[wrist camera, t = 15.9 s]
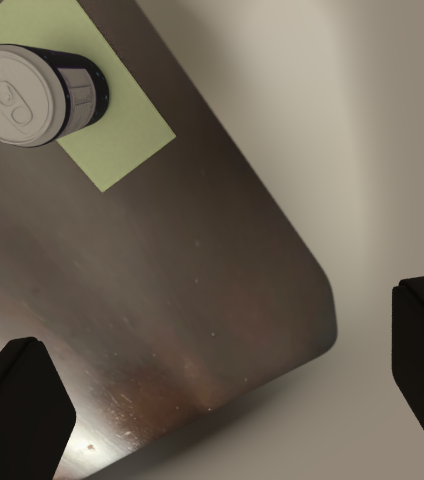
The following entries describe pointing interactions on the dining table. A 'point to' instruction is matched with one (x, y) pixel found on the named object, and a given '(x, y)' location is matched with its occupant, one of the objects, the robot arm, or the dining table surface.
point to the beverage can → (47, 94)
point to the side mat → (119, 82)
